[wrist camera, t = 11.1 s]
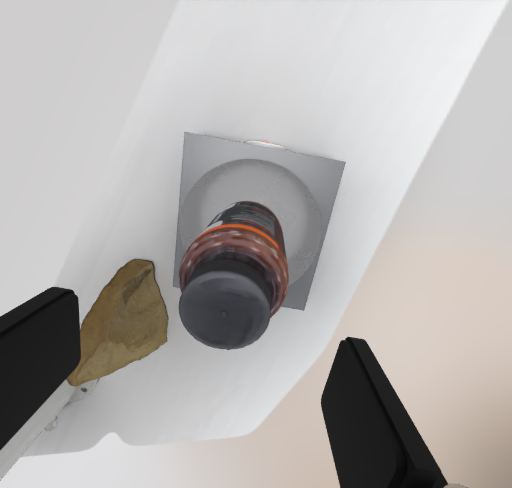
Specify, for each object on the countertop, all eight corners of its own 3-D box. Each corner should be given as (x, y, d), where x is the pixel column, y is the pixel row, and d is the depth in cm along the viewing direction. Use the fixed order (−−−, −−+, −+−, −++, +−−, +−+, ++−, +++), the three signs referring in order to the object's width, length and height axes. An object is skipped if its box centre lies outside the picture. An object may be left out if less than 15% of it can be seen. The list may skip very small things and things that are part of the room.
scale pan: (301, 301, 24) (302, 306, 23) (178, 279, 24) (175, 282, 23) (336, 173, 20) (339, 174, 19) (189, 146, 20) (186, 145, 19)
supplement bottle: (208, 201, 20) (139, 250, 10) (280, 196, 20) (292, 241, 9) (217, 268, 22) (168, 369, 12) (284, 265, 22) (296, 367, 11)
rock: (100, 243, 25) (60, 320, 27) (110, 296, 19) (58, 391, 21) (191, 267, 33) (155, 326, 34) (218, 310, 27) (174, 379, 28)
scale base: (299, 290, 28) (303, 310, 24) (185, 269, 28) (172, 286, 24) (335, 156, 23) (347, 155, 20) (198, 130, 23) (185, 125, 20)
